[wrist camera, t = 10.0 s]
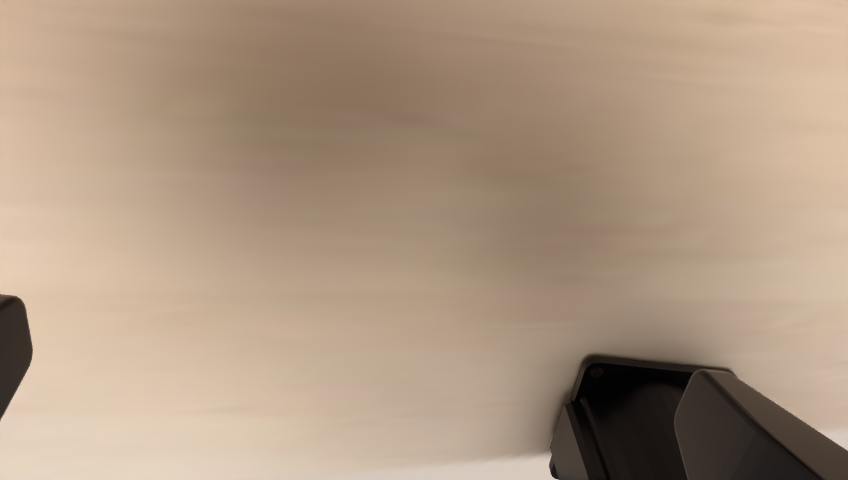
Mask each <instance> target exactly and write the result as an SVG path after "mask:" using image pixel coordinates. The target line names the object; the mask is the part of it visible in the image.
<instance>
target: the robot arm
mask: <svg viewBox="0 0 848 480" xmlns="http://www.w3.org/2000/svg"><path fill="white" fill-rule="evenodd" d="M32 353H33V348H32V341H31V336H30V330H29V324H28V319H27V313H26V308H25V305H24V303H23V301H22V300H21V299H20V298H18V297H17V296H12V295H2V294H0V420H1V418H2V417H3V415H4V413H5V411H6V409H7V407H8V405H9V404H10V402H11V400H12V398H13V396H14V394H15V392H16V390H17V389H18V387H19V385H20V383H21V381H22V379H23V377H24V376H25V374H26V372H27V370H28V368H29V366H30V363H31V360H32ZM594 368H599V369H598V370H596V371H591V370H592V369H594ZM550 448H551V452H552V457H551V460H550V464H549V468H550V472H551V475H552V477H554V478H555V479H559V480H848V451H847V450H846V449H844V448H843V447H841V446H839V445H838V444H836V443H835V442H833V441H832V440H830V439H829V438H827V437H826V436H824V435H823V434H821V433H820V432H818V431H817V430H815V429H814V428H812V427H811V426H809V425H808V424H806V423H805V422H803V421H802V420H800V419H798V418H797V417H795V416H794V415H792V414H791V413H789V412H788V411H786V410H785V409H783V408H782V407H780V406H779V405H777V404H776V403H774V402H773V401H771V400H770V399H768V398H767V397H765V396H764V395H762V394H761V393H759V392H757V391H756V390H754V389H753V388H751V387H750V386H748V385H747V384H745V383H744V382H742V381H741V380H739V379H738V377H737V376H736V375H735V374H734V373H733V372H732V371H729V370H720V369H711V368H701V367H692V366H683V365H673V364H664V363H655V362H645V361H636V360H627V359H618V358H608V357H599V356H594V357H590V358H588V359H586V360H585V361H584V362H583V364H582V366H581V369H580V372H579V375H578V378H577V381H576V384H575V387H574V390H573V393H572V396H571V400H568V401H567V402H566V403H565V404H564V406H563V409H562V412H561V415H560V418H559V421H558V424H557V428H556V431H555V434H554V437H553V440H552V443H551V446H550Z"/></svg>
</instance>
